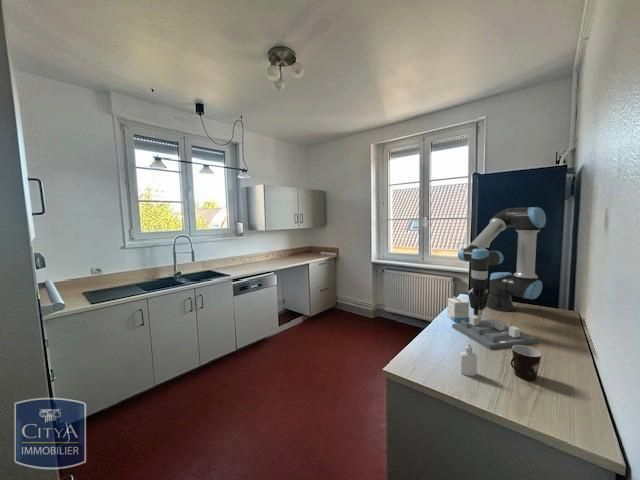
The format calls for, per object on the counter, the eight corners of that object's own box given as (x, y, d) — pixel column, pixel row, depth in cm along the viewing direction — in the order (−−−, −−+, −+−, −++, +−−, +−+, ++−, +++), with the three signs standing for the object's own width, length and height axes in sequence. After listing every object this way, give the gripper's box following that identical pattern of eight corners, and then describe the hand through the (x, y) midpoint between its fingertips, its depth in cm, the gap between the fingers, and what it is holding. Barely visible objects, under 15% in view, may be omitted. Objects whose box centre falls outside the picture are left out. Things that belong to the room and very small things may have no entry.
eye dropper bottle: (461, 368, 104) (462, 339, 103) (477, 373, 100) (478, 343, 99) (458, 373, 100) (459, 343, 99) (474, 378, 97) (475, 348, 96)
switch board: (492, 322, 146) (492, 315, 146) (535, 342, 123) (536, 333, 123) (452, 327, 141) (452, 319, 141) (489, 349, 118) (489, 340, 117)
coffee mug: (529, 369, 102) (530, 345, 101) (546, 383, 93) (547, 357, 92) (497, 368, 103) (498, 344, 102) (511, 382, 94) (512, 356, 94)
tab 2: (499, 327, 135) (499, 320, 134) (504, 329, 132) (504, 322, 131) (494, 328, 134) (494, 320, 134) (499, 330, 131) (499, 322, 131)
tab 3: (513, 334, 127) (514, 326, 126) (519, 336, 124) (519, 328, 124) (508, 334, 126) (509, 326, 126) (514, 337, 123) (514, 329, 123)
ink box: (468, 322, 148) (469, 299, 146) (454, 322, 148) (454, 299, 147) (461, 316, 156) (461, 294, 155) (447, 316, 156) (447, 295, 155)
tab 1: (474, 322, 141) (474, 315, 140) (478, 325, 138) (478, 317, 137) (469, 323, 140) (469, 316, 140) (473, 325, 137) (473, 318, 137)
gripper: (483, 275, 142) (482, 317, 144) (463, 277, 140) (461, 319, 142) (495, 278, 135) (493, 322, 137) (474, 280, 132) (472, 325, 134)
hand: (477, 321), depth 139 cm, fingers closed
